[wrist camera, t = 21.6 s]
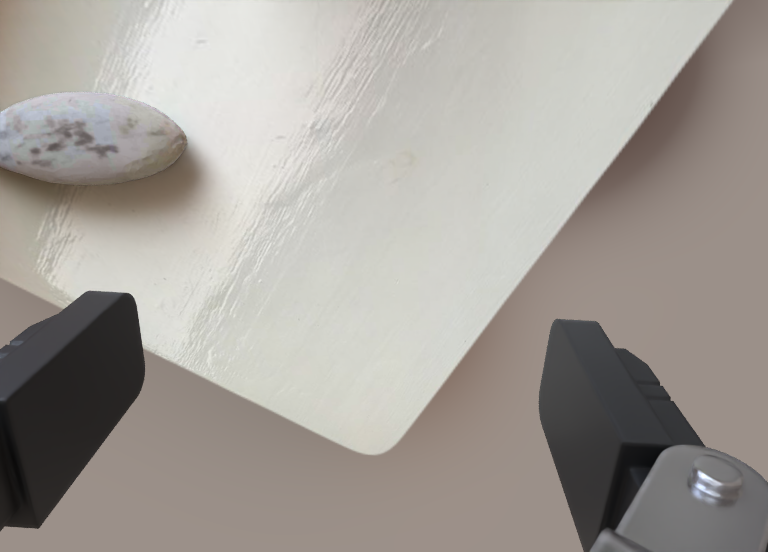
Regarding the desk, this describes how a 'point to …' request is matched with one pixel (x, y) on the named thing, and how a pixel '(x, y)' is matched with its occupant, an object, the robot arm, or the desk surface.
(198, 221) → the desk surface
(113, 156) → the decorative stone
